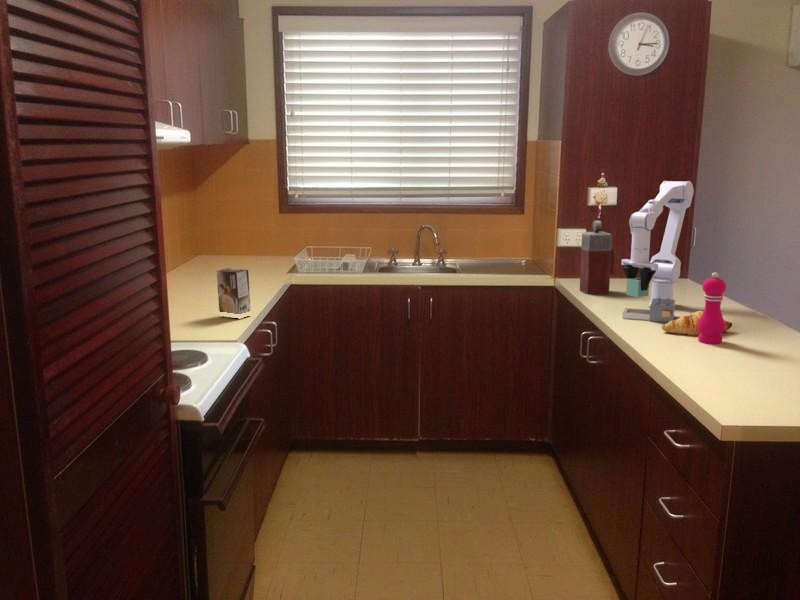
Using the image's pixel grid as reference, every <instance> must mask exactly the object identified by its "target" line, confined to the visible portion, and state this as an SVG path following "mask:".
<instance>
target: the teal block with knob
mask: <svg viewBox="0 0 800 600" xmlns="http://www.w3.org/2000/svg"><path fill="white" fill-rule="evenodd" d="M649 289H650V285H649V286H648V289H647V290H644V291H642V290H641V277H637V276H636V278H629V279H627V278H626V292H625V293H626V295H627V296H630V297H634V298H640V297H641V298H643V297H648V296H649V293H650V291H649Z"/></svg>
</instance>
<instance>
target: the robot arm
mask: <svg viewBox="0 0 800 600" xmlns="http://www.w3.org/2000/svg"><path fill="white" fill-rule="evenodd" d="M694 191H695V190H694V185H693V183H692V181H691V180H687V181H680V180H679V181H677V180H676V181H672V180H669V181H668V180H663V182H661V184H660V185H659V193H658V194H657V195H656V197H655V198H654V199H649V200H648V201H647V202H646V203H645V204H644V205H643V206H642V208H640V210H638V211H636V212H634V213H632V214H631V216H630V217H629V221H628V223H629V229H630V235H631V248H630V249H631V251H630V259H628V258H623V259H621V264H620V265H621V266H624V267H622V270H623V272H624V275H625V276H626V280H627V279H629V278H637V275H638V272H639V276H640V277H639V278H641V290H642V291H644V290H647V289H648V286H649V287H650V284H651V293H650V294H651V295H650V302H649V305H648V307H649V308H650V304H651V302H652V300H653V298H656V299H658V297H660V298H661V299H667V298H670V299H672V300H674V299H673V298H674V286H675V285H674V284H675V282H677V281H678V280H679V278H680V276H681V266H682V262H681V260H680V258H678V257H677V255H676V251H677V246H678V244H679V239H680V235H681V231H682V227H683V222H684V218H685V214H686V212H687V211H686V209H688V208H690V207H691V204H692V200H693V196H694V194H695V193H694ZM664 206H665V207H667V208H668V209H669V213H668V218H667V222H666V226H665V230H664V234H663V239H662V242H661V246H660V249H659V250H660V251H659V252H658V253H657V254H656V253H655V254H654V255H653V256H652V257H651V259H650V246H651V244H650V243H651V230H653V229H654V226H655V224H656V221H657V219H658V217H660V215H661V214H662V213H663V210H664Z"/></svg>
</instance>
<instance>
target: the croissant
mask: <svg viewBox="0 0 800 600" xmlns="http://www.w3.org/2000/svg"><path fill="white" fill-rule="evenodd" d="M703 312H704V310H698V311H694V312H692V313H690V314H688V315H683V316H680V317H679V318H677V319H673V320H671V321H670V322H668V323H662V325H661V330H662V331H664V332H666V333H669V334H670V333H671V334H677V335H684V334H688V335H687V336H699V334H700V333H701V332H700V331H699V330H698V327H697V325H698V321H699V319H700V317H701V315H702V314H703ZM724 322H725V330H724V331H723V332H722V333H724V332H727V331H728V330H729V329H731V328H732V326H733V322H731V321H729V320H728V321H727V320H725V319H724Z"/></svg>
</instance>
